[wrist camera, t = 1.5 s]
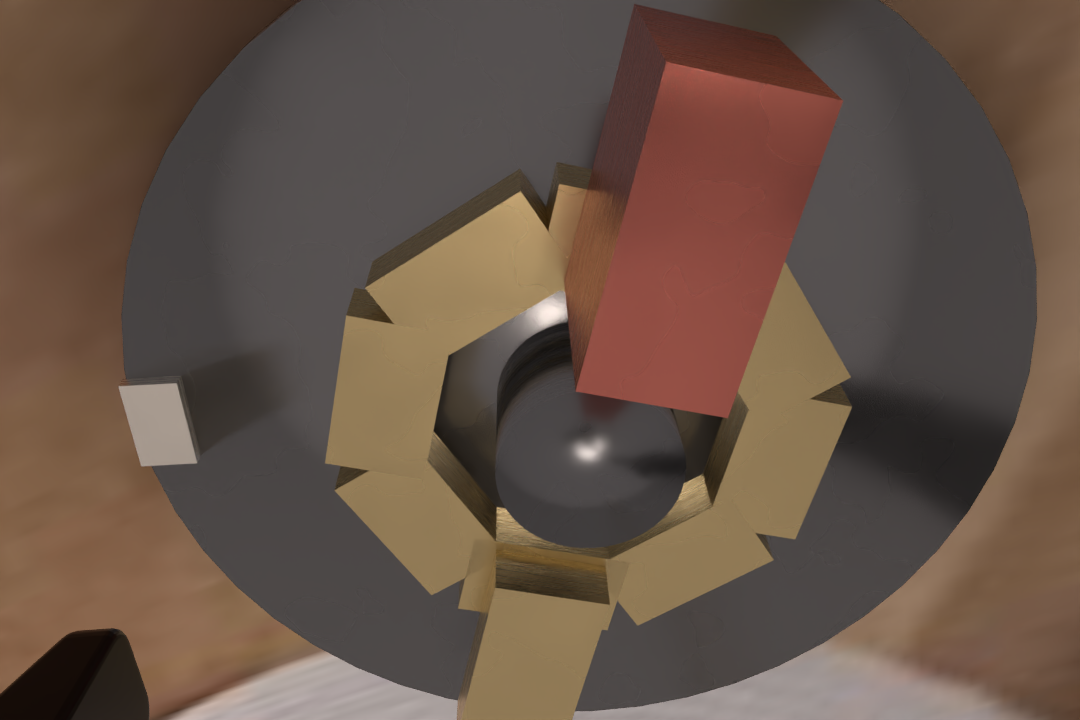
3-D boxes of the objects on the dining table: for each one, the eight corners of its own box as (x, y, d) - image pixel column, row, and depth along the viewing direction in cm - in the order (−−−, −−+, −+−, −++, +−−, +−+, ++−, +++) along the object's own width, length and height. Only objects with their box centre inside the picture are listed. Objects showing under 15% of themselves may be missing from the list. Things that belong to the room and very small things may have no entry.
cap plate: (1125, 466, 25) (1227, 579, 21) (468, 769, 29) (463, 903, 26) (773, -345, 17) (842, -377, 13) (-56, 255, 21) (-167, 347, 18)
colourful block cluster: (991, 466, 23) (1108, 634, 18) (498, 702, 26) (496, 893, 21) (715, -68, 17) (785, -15, 13) (132, 315, 20) (26, 466, 16)
